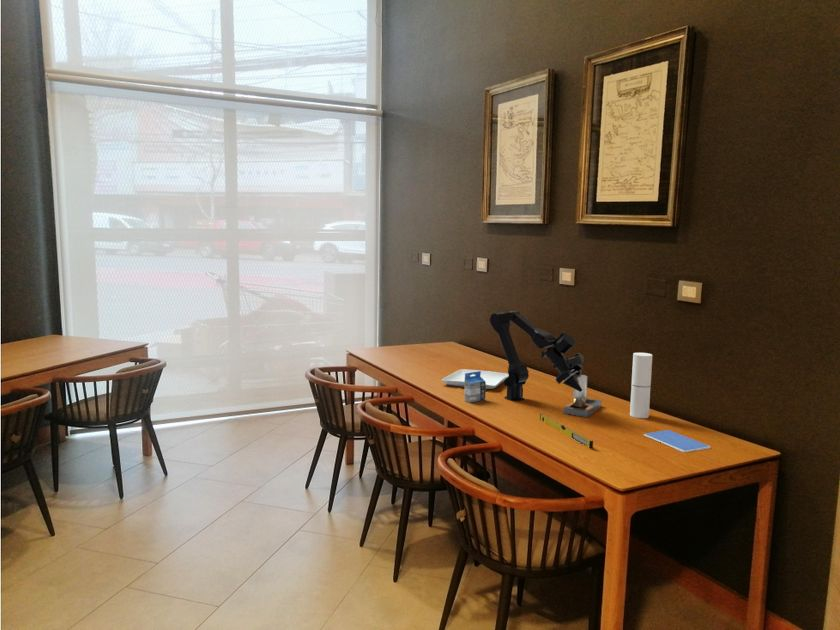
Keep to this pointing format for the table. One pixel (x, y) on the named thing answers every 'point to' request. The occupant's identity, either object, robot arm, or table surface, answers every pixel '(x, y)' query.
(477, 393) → the label tape box
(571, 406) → the grey flat frame
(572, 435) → the spirit level
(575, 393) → the steel peg
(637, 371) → the cylindrical container
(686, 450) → the tablet computer
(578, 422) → the table surface
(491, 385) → the square plate
